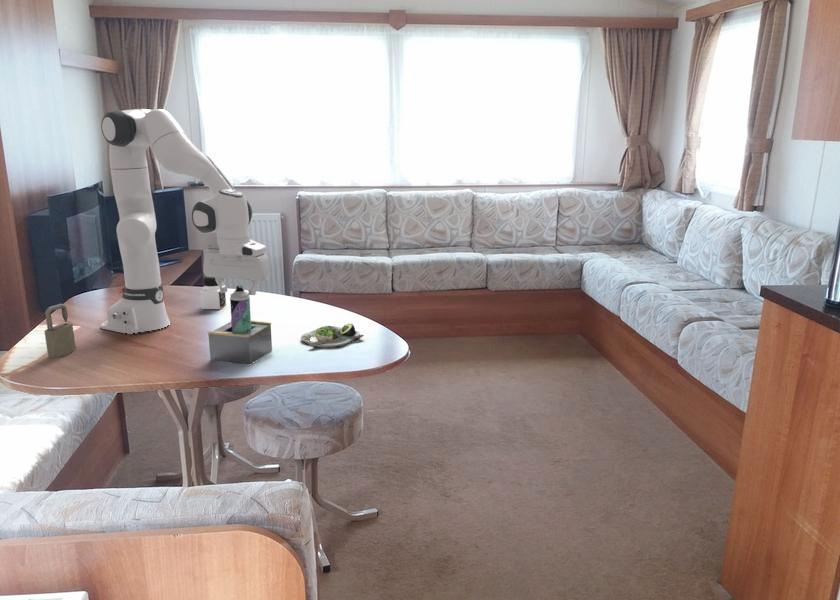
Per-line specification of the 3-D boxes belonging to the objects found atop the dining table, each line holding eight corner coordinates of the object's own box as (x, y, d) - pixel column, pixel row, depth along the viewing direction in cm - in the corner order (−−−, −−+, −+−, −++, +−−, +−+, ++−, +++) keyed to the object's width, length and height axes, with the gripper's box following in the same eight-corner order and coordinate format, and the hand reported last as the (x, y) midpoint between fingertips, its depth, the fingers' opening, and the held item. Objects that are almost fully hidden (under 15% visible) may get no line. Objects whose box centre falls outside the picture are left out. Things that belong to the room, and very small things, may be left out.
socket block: (210, 361, 195) (207, 331, 192) (234, 346, 207) (232, 318, 204) (250, 365, 191) (248, 335, 189) (272, 350, 203) (270, 322, 201)
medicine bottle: (220, 310, 245) (218, 278, 242) (201, 309, 245) (198, 278, 242) (226, 304, 252) (224, 273, 249) (207, 304, 252) (204, 273, 249)
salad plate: (330, 355, 200) (330, 341, 198) (287, 344, 209) (286, 330, 208) (369, 338, 215) (369, 324, 214) (327, 329, 225) (327, 316, 223)
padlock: (78, 349, 203) (71, 302, 199) (57, 358, 196) (49, 309, 192) (67, 348, 204) (60, 301, 200) (46, 357, 197) (38, 308, 193)
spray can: (236, 348, 201) (233, 283, 196) (254, 348, 201) (251, 284, 195) (230, 354, 196) (226, 288, 190) (249, 354, 195) (245, 288, 190)
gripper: (196, 246, 191) (200, 293, 195) (260, 250, 185) (263, 298, 189) (209, 242, 197) (213, 288, 200) (271, 246, 191) (274, 293, 195)
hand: (238, 293), depth 195 cm, fingers open, 8 cm apart
